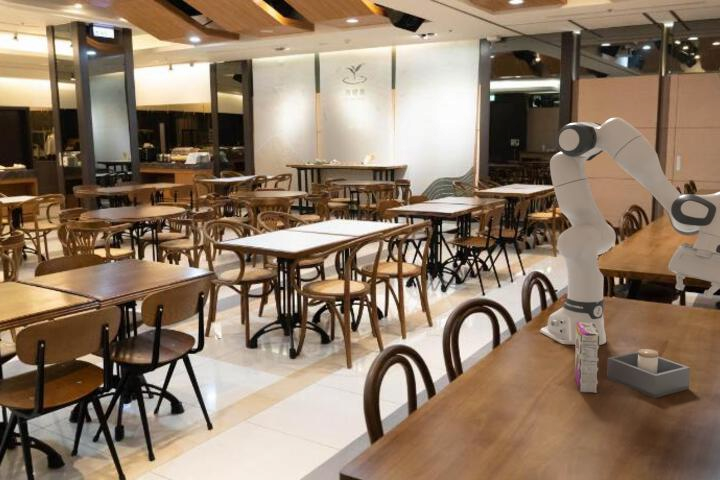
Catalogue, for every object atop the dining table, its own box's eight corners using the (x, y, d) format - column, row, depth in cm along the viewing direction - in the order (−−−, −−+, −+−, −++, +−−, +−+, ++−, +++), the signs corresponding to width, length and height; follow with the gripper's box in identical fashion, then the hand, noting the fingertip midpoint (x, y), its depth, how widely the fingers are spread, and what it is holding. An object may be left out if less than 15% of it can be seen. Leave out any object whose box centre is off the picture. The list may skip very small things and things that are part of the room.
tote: (606, 378, 183) (607, 357, 182) (639, 370, 188) (640, 350, 187) (654, 398, 169) (655, 376, 168) (688, 388, 174) (690, 367, 173)
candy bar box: (573, 377, 184) (575, 321, 181) (592, 378, 183) (594, 322, 180) (578, 392, 173) (580, 333, 171) (598, 393, 172) (600, 334, 170)
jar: (632, 378, 180) (634, 350, 178) (645, 375, 182) (647, 347, 180) (647, 384, 175) (649, 356, 174) (660, 381, 177) (662, 353, 176)
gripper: (673, 238, 193) (656, 281, 194) (736, 250, 175) (716, 298, 175) (687, 245, 196) (669, 288, 196) (750, 258, 177) (731, 305, 178)
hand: (692, 293), depth 185 cm, fingers open, 8 cm apart
